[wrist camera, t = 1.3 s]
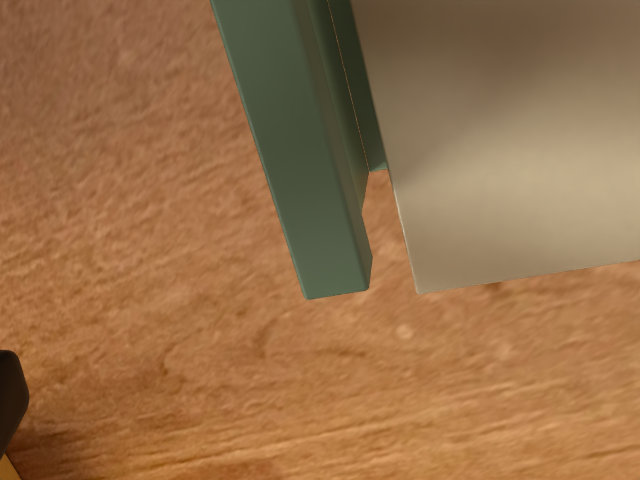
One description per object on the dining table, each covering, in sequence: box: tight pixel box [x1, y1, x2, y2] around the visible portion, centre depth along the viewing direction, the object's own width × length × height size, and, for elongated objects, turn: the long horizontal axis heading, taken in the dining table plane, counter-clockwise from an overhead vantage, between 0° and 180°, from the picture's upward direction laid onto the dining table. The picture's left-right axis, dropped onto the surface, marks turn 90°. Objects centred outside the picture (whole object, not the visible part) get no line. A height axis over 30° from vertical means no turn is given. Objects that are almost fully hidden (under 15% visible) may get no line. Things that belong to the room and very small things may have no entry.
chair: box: [210, 0, 388, 300], centre depth 13 cm, size 7×7×11 cm
